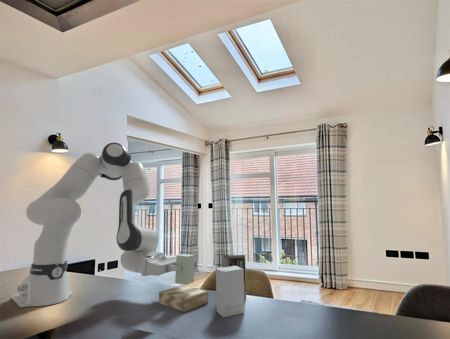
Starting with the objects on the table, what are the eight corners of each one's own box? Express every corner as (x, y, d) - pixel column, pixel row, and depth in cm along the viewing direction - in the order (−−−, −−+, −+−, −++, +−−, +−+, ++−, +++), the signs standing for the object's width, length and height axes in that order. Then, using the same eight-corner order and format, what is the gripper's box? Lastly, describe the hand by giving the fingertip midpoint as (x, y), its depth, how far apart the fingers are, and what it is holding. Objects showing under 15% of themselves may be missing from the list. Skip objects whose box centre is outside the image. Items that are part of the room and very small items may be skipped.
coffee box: (246, 296, 118) (246, 254, 120) (245, 301, 111) (245, 257, 113) (223, 295, 119) (223, 254, 121) (221, 300, 112) (221, 257, 114)
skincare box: (236, 308, 104) (236, 265, 106) (245, 314, 99) (244, 268, 100) (215, 312, 101) (215, 267, 102) (222, 318, 95) (222, 270, 97)
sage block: (175, 283, 109) (176, 255, 110) (182, 280, 113) (183, 253, 115) (186, 284, 107) (188, 256, 108) (193, 282, 111) (194, 255, 113)
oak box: (158, 304, 110) (159, 291, 110) (182, 296, 119) (182, 284, 119) (184, 313, 101) (184, 299, 101) (208, 303, 110) (208, 291, 111)
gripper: (171, 267, 125) (199, 271, 120) (138, 276, 107) (169, 281, 101) (171, 252, 126) (200, 255, 121) (139, 258, 108) (170, 262, 102)
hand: (186, 267), depth 111 cm, fingers closed on sage block, 5 cm apart
